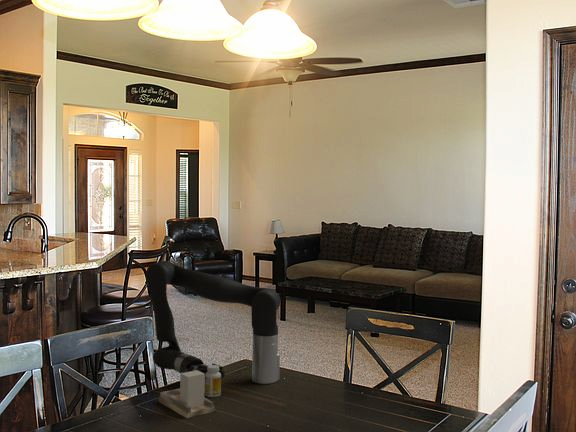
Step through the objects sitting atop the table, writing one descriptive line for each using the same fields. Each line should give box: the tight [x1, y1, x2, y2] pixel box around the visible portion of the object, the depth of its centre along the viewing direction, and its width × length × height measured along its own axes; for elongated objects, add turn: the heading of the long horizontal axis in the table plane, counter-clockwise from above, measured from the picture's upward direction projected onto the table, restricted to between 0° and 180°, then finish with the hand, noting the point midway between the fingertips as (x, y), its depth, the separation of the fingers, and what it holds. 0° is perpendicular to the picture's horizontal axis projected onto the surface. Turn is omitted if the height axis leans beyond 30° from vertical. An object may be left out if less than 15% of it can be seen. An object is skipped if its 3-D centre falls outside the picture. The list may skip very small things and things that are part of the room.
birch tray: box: [158, 388, 216, 419], centre depth 197 cm, size 10×18×3 cm, turn 39°
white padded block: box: [179, 370, 205, 408], centre depth 194 cm, size 6×5×10 cm
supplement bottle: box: [204, 364, 222, 398], centre depth 209 cm, size 5×5×10 cm
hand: (212, 376), depth 209 cm, fingers open, 8 cm apart
